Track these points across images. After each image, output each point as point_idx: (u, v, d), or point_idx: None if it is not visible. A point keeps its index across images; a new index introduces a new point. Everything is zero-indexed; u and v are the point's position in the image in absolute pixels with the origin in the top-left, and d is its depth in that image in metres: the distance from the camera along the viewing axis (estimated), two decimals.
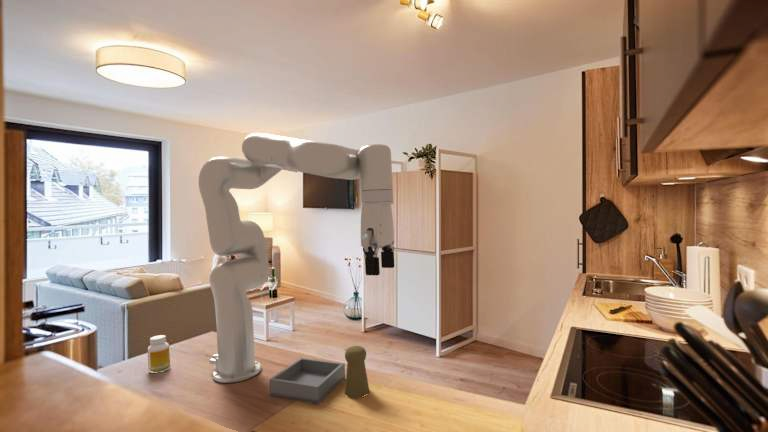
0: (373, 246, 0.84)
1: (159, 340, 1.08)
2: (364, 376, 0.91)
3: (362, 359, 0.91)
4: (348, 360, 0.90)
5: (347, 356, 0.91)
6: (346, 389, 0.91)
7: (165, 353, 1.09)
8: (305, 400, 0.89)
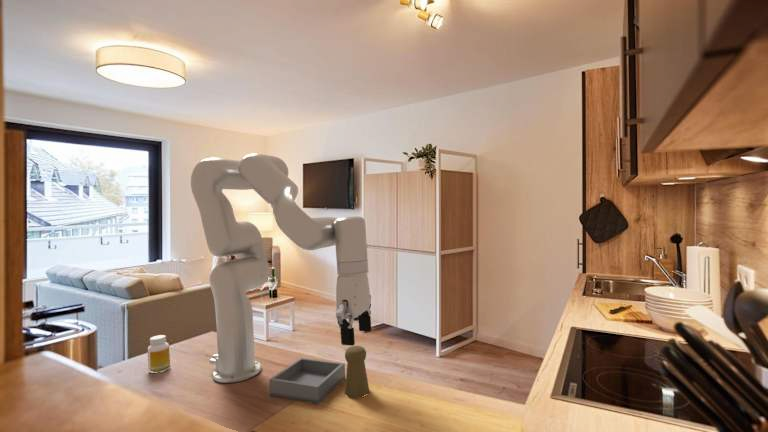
0: (348, 317, 0.88)
1: (159, 340, 1.08)
2: (364, 376, 0.91)
3: (362, 359, 0.91)
4: (348, 360, 0.90)
5: (347, 356, 0.91)
6: (346, 389, 0.91)
7: (165, 353, 1.09)
8: (305, 400, 0.89)
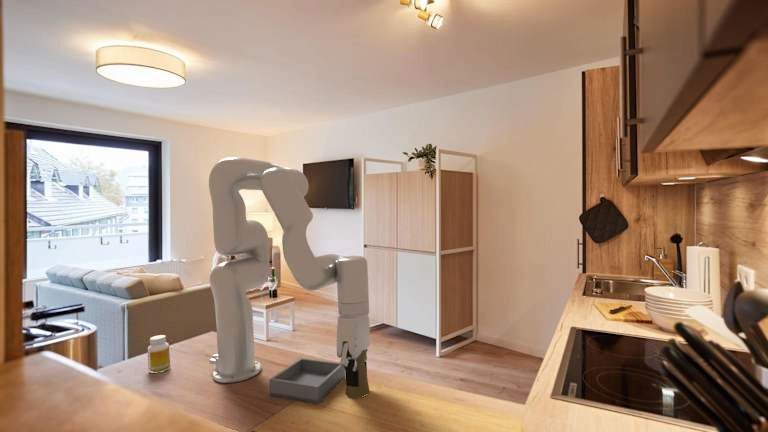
0: (351, 359, 0.89)
1: (159, 340, 1.08)
2: (364, 376, 0.91)
3: (362, 359, 0.91)
4: (348, 360, 0.90)
5: None
6: (346, 389, 0.91)
7: (165, 353, 1.09)
8: (305, 400, 0.89)
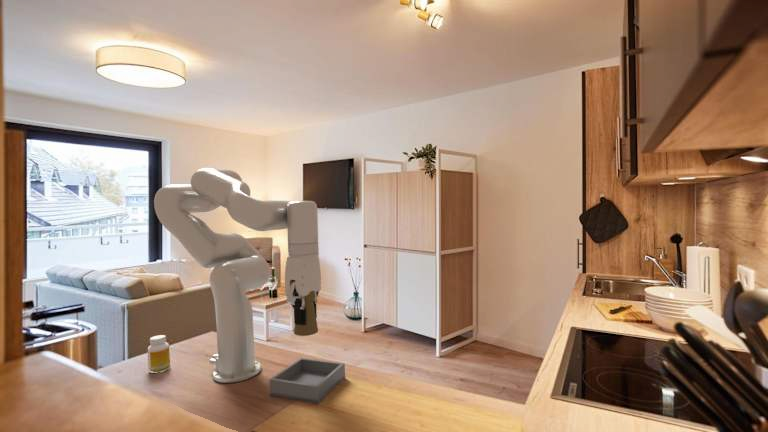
0: (299, 298, 0.93)
1: (159, 340, 1.08)
2: (312, 315, 0.95)
3: (310, 299, 0.94)
4: (297, 299, 0.94)
5: None
6: (295, 328, 0.95)
7: (165, 353, 1.09)
8: (305, 400, 0.89)
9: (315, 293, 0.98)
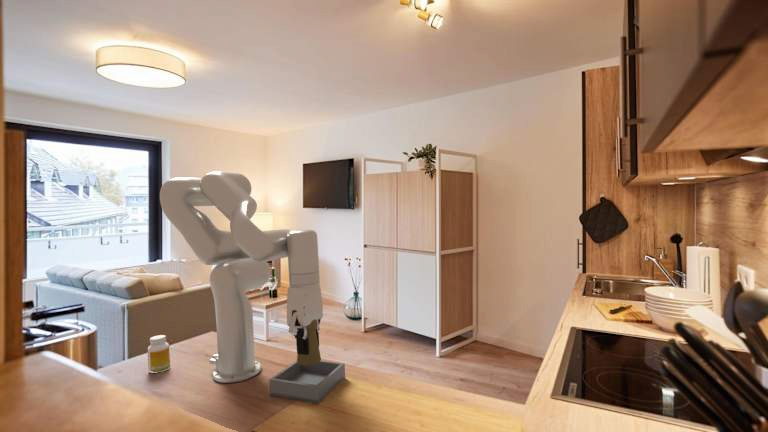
0: (301, 328, 0.93)
1: (159, 340, 1.08)
2: (315, 344, 0.95)
3: (312, 328, 0.94)
4: (299, 329, 0.94)
5: None
6: (298, 357, 0.95)
7: (165, 353, 1.09)
8: (305, 400, 0.89)
9: (317, 321, 0.98)
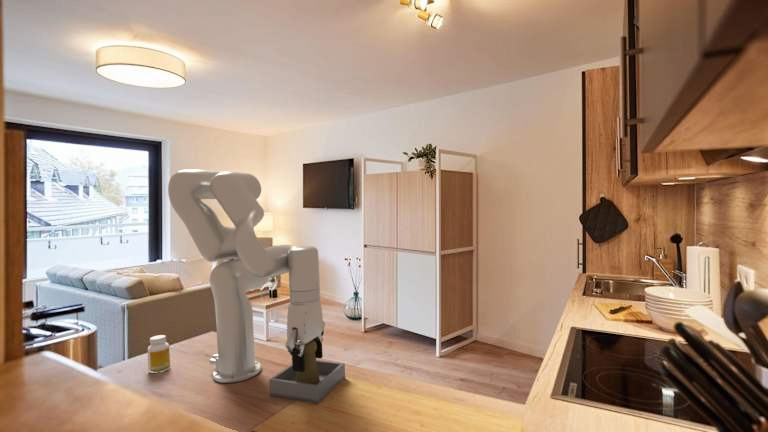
0: (299, 344, 0.92)
1: (159, 340, 1.08)
2: (314, 368, 0.95)
3: (312, 351, 0.94)
4: None
5: (297, 348, 0.94)
6: (297, 380, 0.95)
7: (165, 353, 1.09)
8: (305, 400, 0.89)
9: None
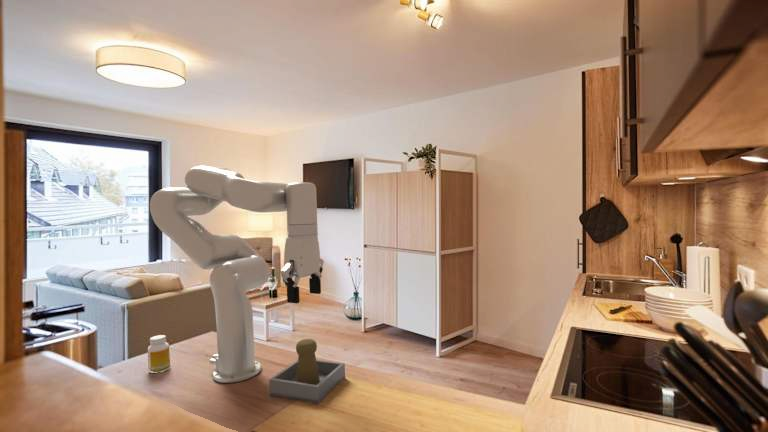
0: (294, 276, 0.92)
1: (159, 340, 1.08)
2: (314, 368, 0.95)
3: (312, 351, 0.94)
4: (298, 352, 0.94)
5: (297, 348, 0.94)
6: (297, 380, 0.95)
7: (165, 353, 1.09)
8: (305, 400, 0.89)
9: None
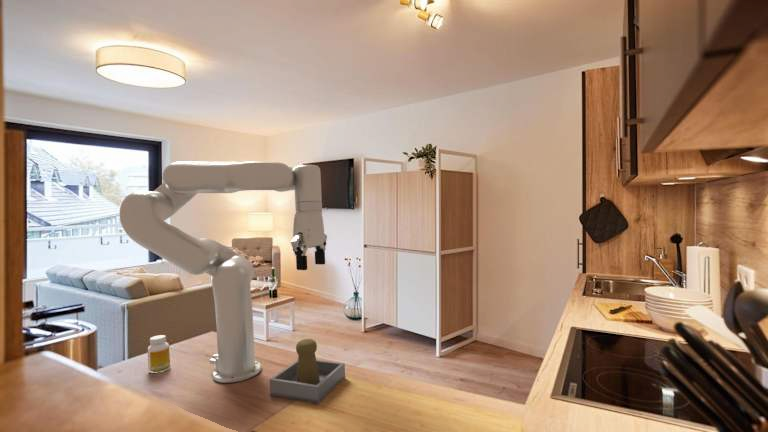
0: (302, 247, 1.05)
1: (159, 340, 1.08)
2: (314, 368, 0.95)
3: (312, 351, 0.94)
4: (298, 352, 0.94)
5: (297, 348, 0.94)
6: (297, 380, 0.95)
7: (165, 353, 1.09)
8: (305, 400, 0.89)
9: None
